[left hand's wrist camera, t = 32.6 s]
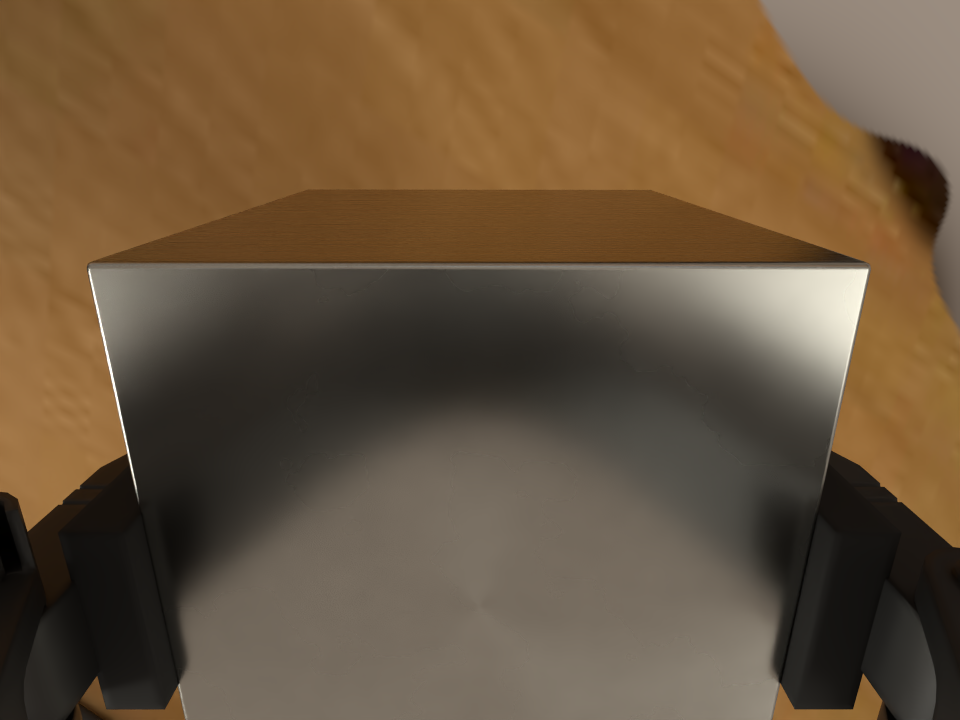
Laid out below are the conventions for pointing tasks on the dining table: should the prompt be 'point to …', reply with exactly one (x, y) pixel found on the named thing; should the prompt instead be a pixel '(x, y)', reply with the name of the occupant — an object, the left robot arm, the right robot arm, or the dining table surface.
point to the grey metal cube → (478, 451)
